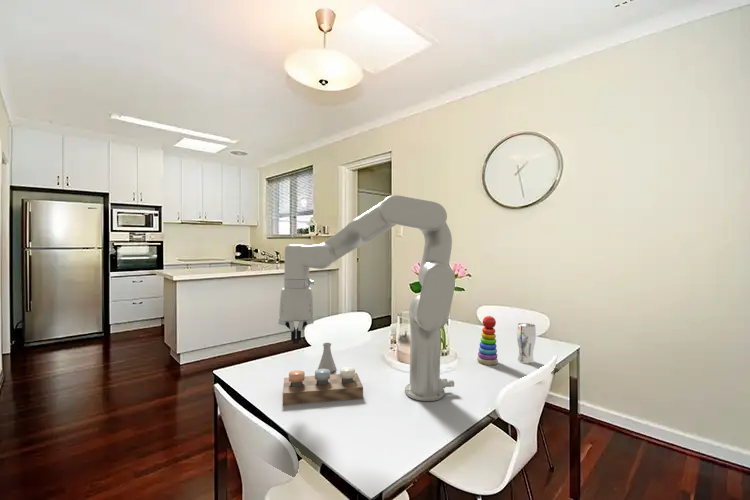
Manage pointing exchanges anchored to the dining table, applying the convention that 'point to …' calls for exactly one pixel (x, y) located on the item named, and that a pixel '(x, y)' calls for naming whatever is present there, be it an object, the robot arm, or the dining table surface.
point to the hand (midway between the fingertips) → (295, 342)
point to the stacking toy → (488, 343)
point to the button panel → (321, 390)
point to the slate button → (322, 376)
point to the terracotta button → (296, 377)
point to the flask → (327, 359)
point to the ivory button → (347, 374)
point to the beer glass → (526, 342)
